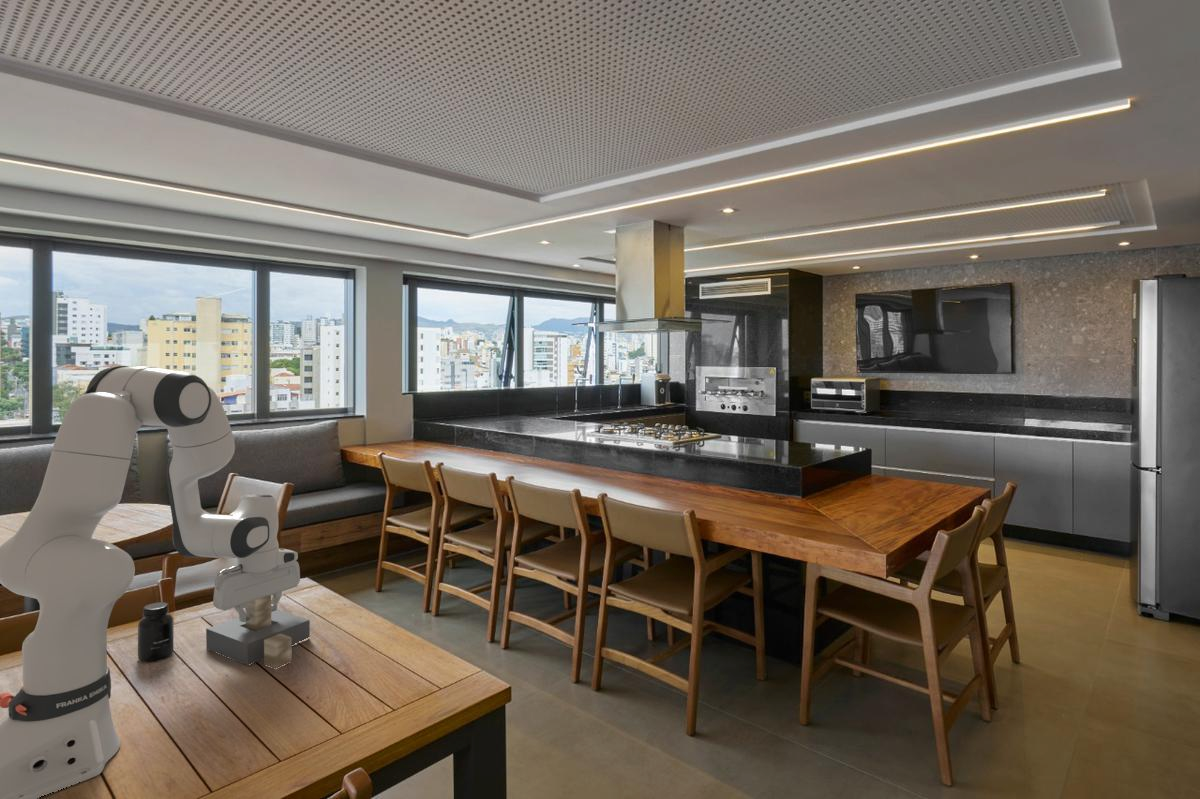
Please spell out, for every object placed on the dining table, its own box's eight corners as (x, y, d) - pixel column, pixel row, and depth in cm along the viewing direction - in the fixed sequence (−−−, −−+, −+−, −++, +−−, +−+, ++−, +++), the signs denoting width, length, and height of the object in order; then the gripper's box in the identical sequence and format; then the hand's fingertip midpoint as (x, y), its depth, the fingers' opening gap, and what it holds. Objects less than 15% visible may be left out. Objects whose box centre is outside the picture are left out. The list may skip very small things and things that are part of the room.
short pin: (275, 670, 143) (275, 644, 143) (264, 665, 145) (264, 639, 145) (291, 662, 147) (291, 637, 147) (280, 658, 149) (280, 633, 148)
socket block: (247, 665, 145) (247, 644, 145) (206, 649, 153) (206, 628, 152) (309, 639, 159) (309, 619, 159) (269, 625, 167) (268, 606, 166)
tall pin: (256, 649, 153) (255, 600, 152) (245, 645, 155) (245, 597, 154) (271, 643, 157) (271, 595, 156) (261, 639, 158) (260, 592, 158)
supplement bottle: (160, 663, 145) (159, 612, 144) (130, 662, 145) (129, 611, 144) (180, 650, 152) (179, 600, 151) (152, 649, 152) (151, 599, 151)
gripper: (223, 574, 144) (223, 634, 145) (303, 551, 162) (303, 605, 163) (206, 569, 147) (207, 628, 148) (287, 547, 165) (287, 600, 166)
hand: (258, 615), depth 155 cm, fingers open, 6 cm apart
